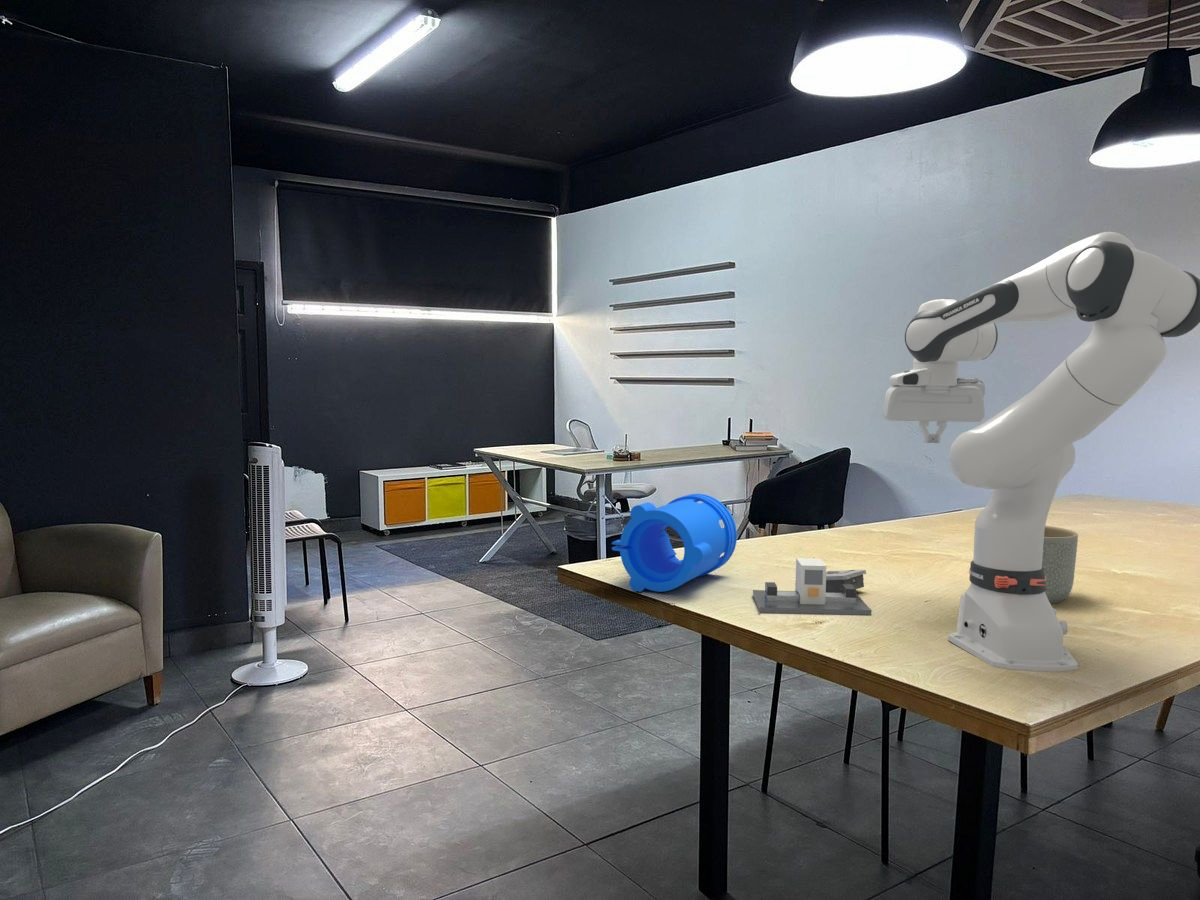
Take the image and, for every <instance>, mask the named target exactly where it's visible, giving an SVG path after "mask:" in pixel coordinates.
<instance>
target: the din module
mask: <svg viewBox="0 0 1200 900" xmlns="http://www.w3.org/2000/svg"><path fill="white" fill-rule="evenodd" d="M826 572H827V565H826V563H825V562H824V561H823V560H822V559H821V558H809V557H808V558H805V557H804V558H802V557H799V558H798V557H796V558H795V583H794V585H795V590H794V591H795V592H798V593H799V594H800V604H823V605H825V595H826Z"/></svg>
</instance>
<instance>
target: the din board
mask: <svg viewBox="0 0 1200 900" xmlns="http://www.w3.org/2000/svg"><path fill="white" fill-rule="evenodd" d="M764 584H765V585H764V587H765V588H764V590H763V589H752V597H753V600H754V602H755V605H756V607H757V609H758V611H759V612H760V613H759V612H758V613H759V614H780V615H781V614H786V615H787V614H791V615H835V616H836V615H838V616H839V615H841V616H842V615H843V616H872V610H871V608H870V607H869V606H868V605H867V603H865V601H864V600H863V599H862V598H861V597H860V596H859V594H857V589H856V588H855V587H854V586H853V585H852V584H842V592H826V595H825V605H823V604H800V594H799V593H798V592H795V590H778V586H777V584H776V582H773V581H772V582H771V581H769V582H768V581H767V582H766V581H765V582H764Z"/></svg>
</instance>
